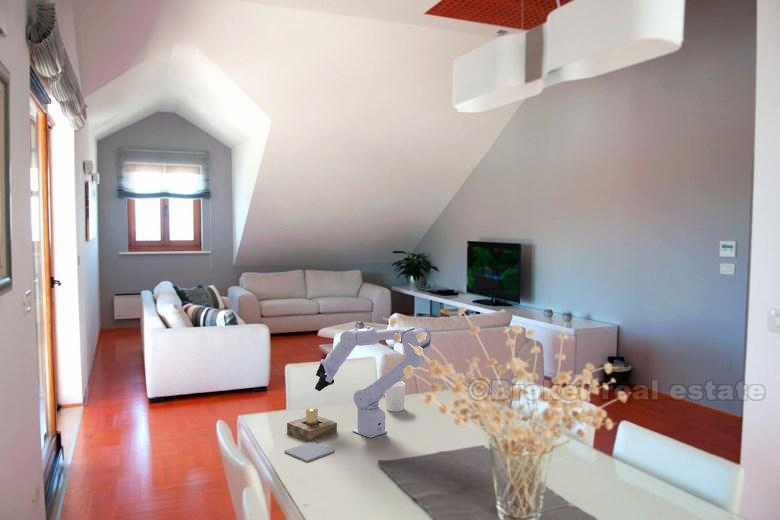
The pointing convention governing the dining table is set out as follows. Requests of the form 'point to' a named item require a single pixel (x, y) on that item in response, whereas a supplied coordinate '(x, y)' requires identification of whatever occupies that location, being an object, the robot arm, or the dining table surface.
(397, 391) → the white cup
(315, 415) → the brass cylinder
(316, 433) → the block
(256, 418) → the dining table surface
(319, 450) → the pad
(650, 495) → the dining table surface
